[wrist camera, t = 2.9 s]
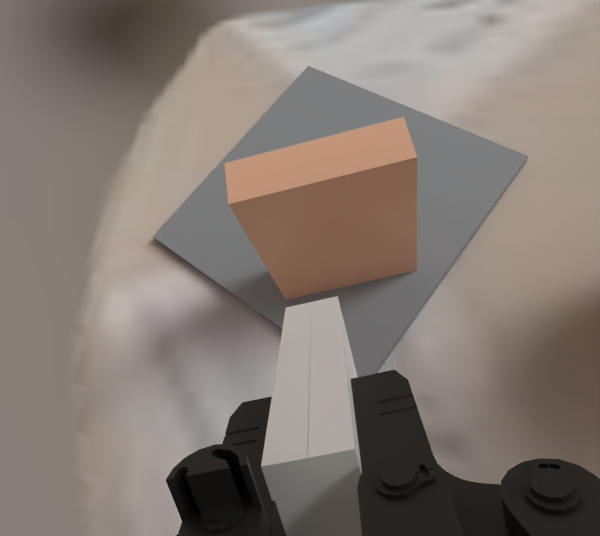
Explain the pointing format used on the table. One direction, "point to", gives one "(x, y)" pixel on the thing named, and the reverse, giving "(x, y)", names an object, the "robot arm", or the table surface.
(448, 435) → the table surface
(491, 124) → the table surface
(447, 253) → the mat
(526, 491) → the robot arm
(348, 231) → the block
